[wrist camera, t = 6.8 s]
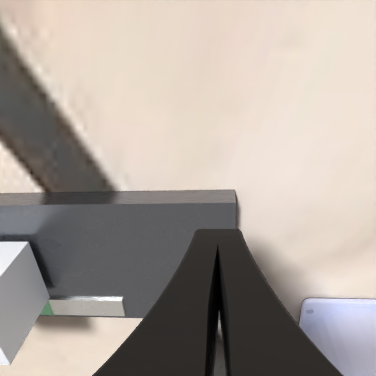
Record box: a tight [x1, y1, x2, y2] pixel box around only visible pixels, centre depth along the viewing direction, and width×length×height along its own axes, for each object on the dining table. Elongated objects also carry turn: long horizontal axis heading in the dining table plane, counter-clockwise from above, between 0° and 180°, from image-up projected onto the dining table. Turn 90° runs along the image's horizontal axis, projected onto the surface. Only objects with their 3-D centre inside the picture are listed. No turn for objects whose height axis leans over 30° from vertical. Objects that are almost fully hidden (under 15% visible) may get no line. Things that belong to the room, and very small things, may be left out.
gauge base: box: [0, 190, 236, 320], centre depth 20 cm, size 24×10×8 cm, turn 93°
